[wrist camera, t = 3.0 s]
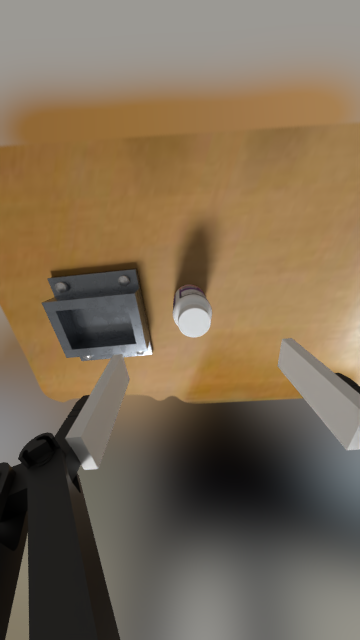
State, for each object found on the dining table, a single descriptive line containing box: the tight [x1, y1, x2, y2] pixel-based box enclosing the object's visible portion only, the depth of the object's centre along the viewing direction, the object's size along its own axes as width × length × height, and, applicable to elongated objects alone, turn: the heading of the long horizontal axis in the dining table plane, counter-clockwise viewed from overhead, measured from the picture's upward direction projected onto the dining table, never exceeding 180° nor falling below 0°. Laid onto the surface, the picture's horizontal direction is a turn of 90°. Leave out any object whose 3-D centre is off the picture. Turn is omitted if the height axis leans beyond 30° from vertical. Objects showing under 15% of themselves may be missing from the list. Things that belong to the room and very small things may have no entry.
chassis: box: [42, 269, 153, 361], centre depth 29 cm, size 16×14×4 cm
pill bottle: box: [173, 285, 212, 337], centre depth 25 cm, size 5×5×10 cm
